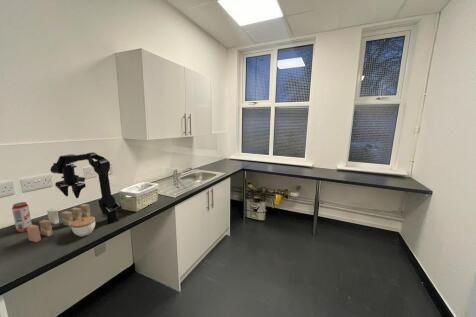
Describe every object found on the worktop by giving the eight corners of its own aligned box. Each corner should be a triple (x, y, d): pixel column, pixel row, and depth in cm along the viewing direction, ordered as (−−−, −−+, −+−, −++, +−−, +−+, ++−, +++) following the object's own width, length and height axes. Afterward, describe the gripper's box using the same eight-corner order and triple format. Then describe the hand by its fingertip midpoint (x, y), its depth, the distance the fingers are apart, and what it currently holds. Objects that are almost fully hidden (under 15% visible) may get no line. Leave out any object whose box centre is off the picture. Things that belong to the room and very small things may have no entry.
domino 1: (46, 232, 111) (44, 219, 109) (52, 234, 110) (50, 220, 108) (41, 234, 109) (39, 221, 107) (48, 236, 107) (45, 222, 106)
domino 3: (67, 223, 121) (65, 211, 120) (73, 224, 120) (71, 212, 119) (63, 224, 119) (61, 212, 118) (69, 226, 118) (67, 213, 116)
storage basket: (144, 198, 163) (143, 181, 160) (160, 200, 158) (159, 183, 155) (119, 210, 140) (117, 190, 138) (137, 213, 136) (135, 193, 133)
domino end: (34, 238, 106) (31, 224, 104) (40, 239, 104) (38, 225, 103) (29, 240, 103) (26, 226, 102) (35, 242, 102) (33, 228, 101)
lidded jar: (81, 228, 116) (79, 213, 114) (100, 228, 116) (98, 213, 115) (67, 239, 105) (65, 223, 103) (88, 238, 106) (86, 223, 104)
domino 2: (53, 221, 123) (51, 209, 122) (59, 222, 122) (57, 210, 120) (49, 222, 121) (47, 210, 120) (55, 224, 120) (53, 211, 118)
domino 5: (84, 215, 132) (83, 204, 130) (90, 216, 130) (89, 204, 129) (81, 216, 130) (80, 205, 128) (87, 217, 128) (86, 206, 127)
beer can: (14, 233, 109) (8, 207, 106) (20, 228, 115) (15, 202, 112) (29, 231, 111) (23, 205, 108) (34, 226, 117) (30, 201, 114)
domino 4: (76, 218, 126) (74, 207, 125) (82, 220, 125) (80, 208, 124) (72, 220, 124) (71, 208, 123) (78, 221, 123) (77, 209, 122)
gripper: (92, 172, 130) (95, 194, 133) (71, 170, 135) (74, 191, 138) (74, 177, 120) (78, 200, 122) (52, 174, 124) (56, 197, 127)
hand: (72, 197), depth 128 cm, fingers open, 9 cm apart
